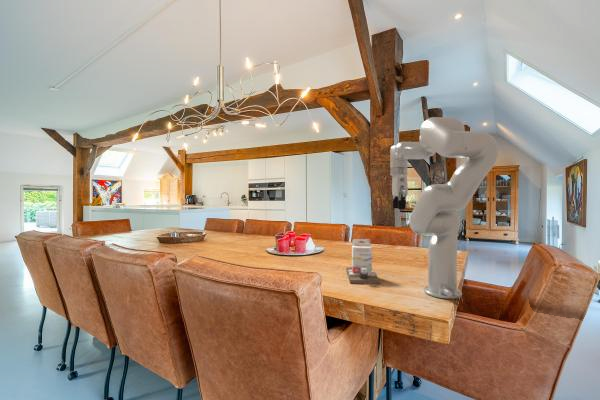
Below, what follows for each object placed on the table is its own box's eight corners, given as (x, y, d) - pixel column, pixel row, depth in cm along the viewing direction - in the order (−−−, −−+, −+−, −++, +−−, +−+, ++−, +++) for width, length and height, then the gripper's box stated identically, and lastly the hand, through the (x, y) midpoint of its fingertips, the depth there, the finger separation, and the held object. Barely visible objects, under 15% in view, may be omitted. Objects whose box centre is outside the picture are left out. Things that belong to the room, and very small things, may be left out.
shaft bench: (379, 283, 120) (379, 269, 120) (350, 283, 121) (349, 269, 121) (371, 270, 141) (371, 258, 141) (346, 270, 142) (346, 258, 142)
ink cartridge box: (352, 273, 129) (352, 240, 128) (351, 270, 134) (351, 238, 133) (372, 273, 128) (372, 240, 128) (370, 271, 133) (370, 238, 133)
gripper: (413, 170, 127) (413, 209, 127) (401, 173, 144) (402, 207, 144) (395, 170, 127) (395, 209, 127) (386, 173, 144) (386, 208, 145)
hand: (399, 208), depth 136 cm, fingers open, 9 cm apart
